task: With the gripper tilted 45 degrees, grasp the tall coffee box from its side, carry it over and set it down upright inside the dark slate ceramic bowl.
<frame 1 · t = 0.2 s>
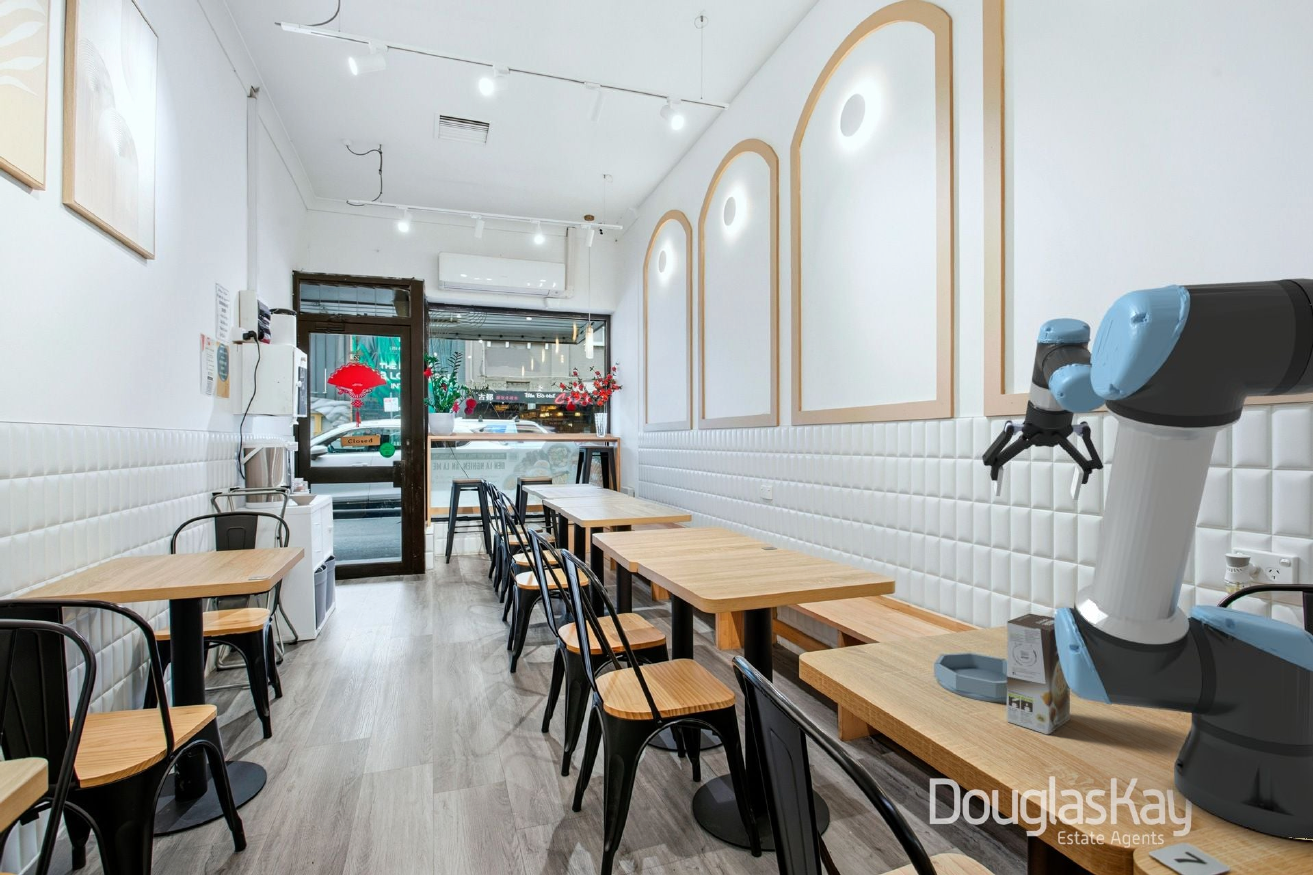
hand: (1034, 494, 126), 35 cm above the table, tool tilted 35°, fingers open, 13 cm apart
slate bowl: (981, 685, 115), on the table
coffee box: (1038, 722, 100), on the table
mineral rock: (1077, 675, 121), on the table
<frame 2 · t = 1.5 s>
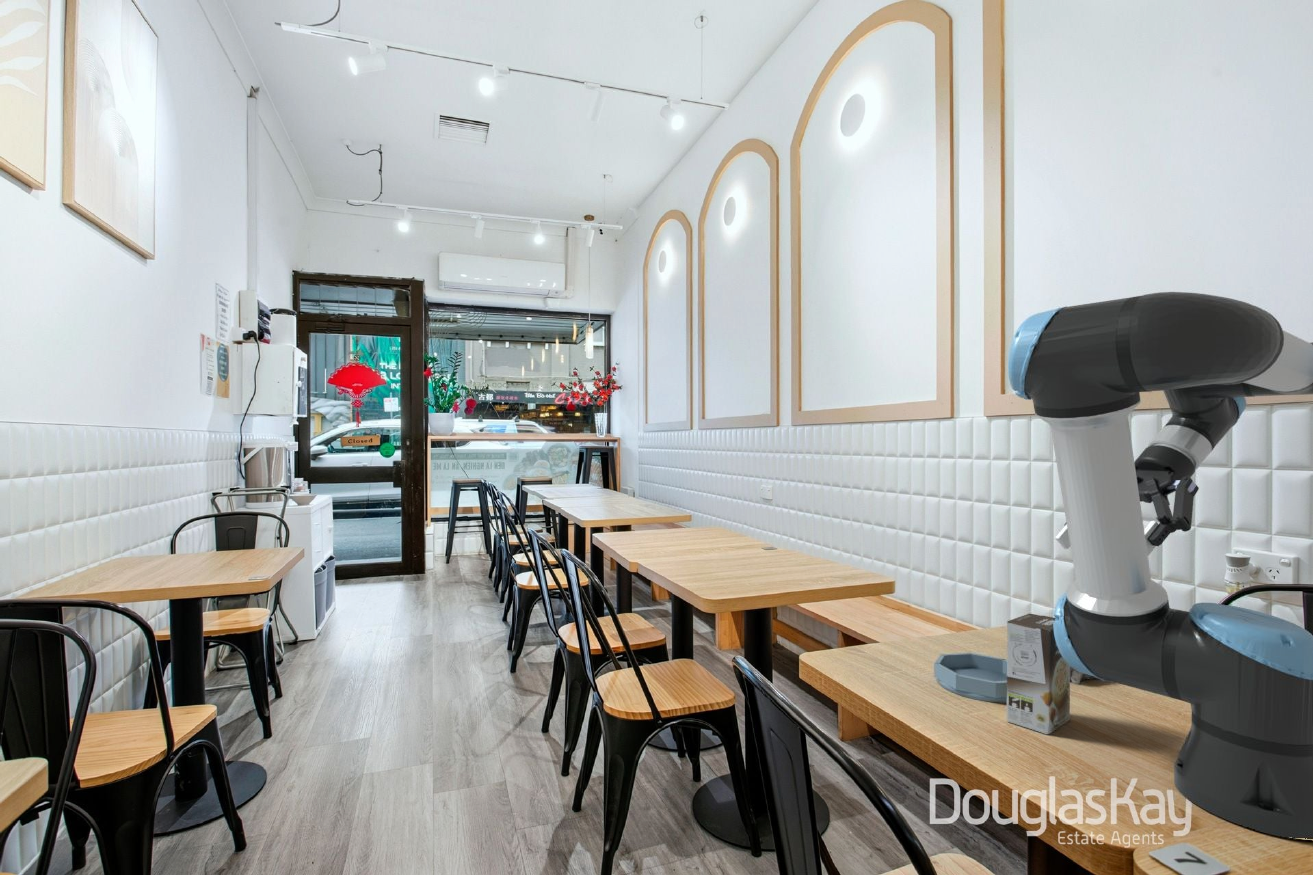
hand: (1095, 550, 103), 27 cm above the table, tool tilted 45°, fingers open, 13 cm apart
nothing on the table moved.
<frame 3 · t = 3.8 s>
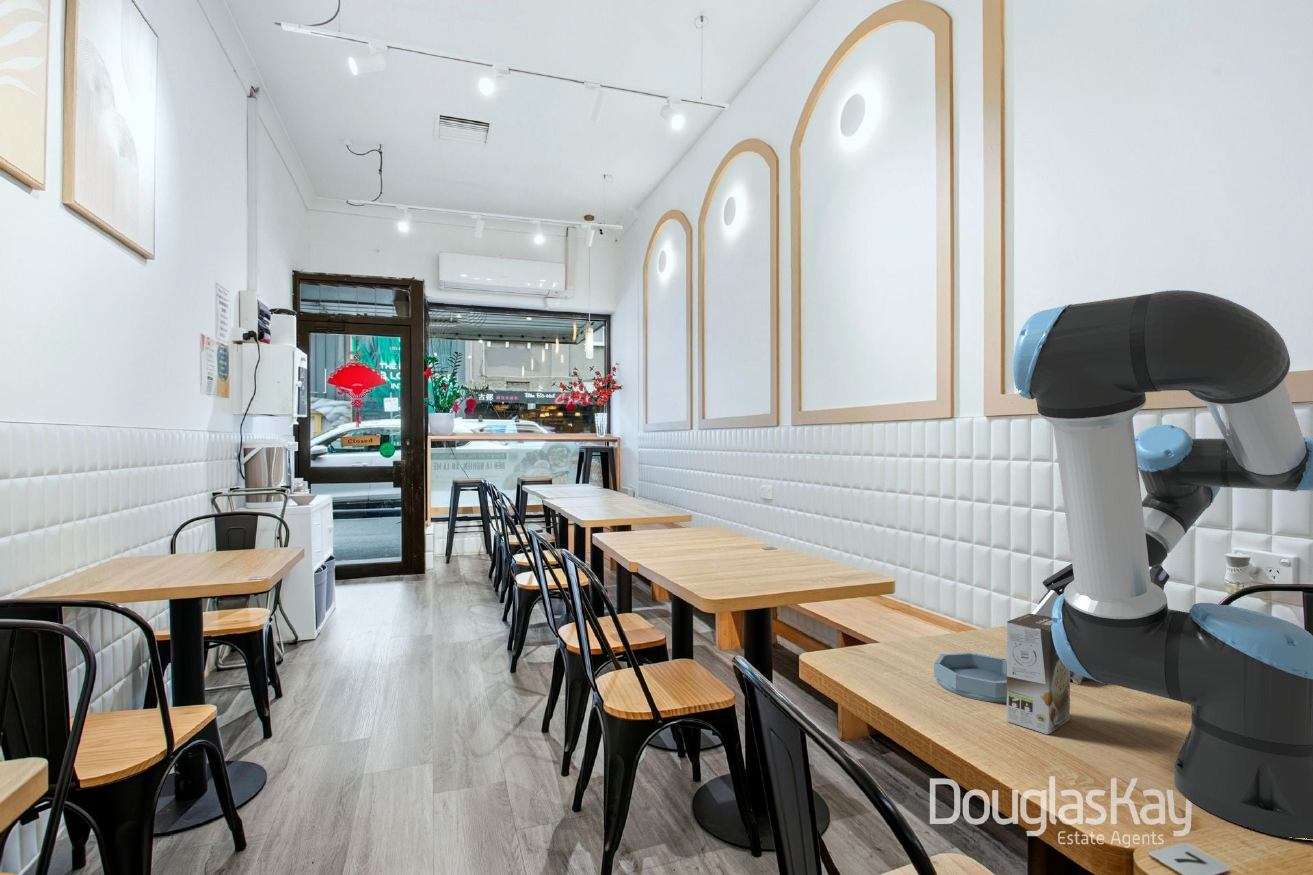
hand: (1066, 634, 102), 13 cm above the table, tool tilted 45°, fingers open, 13 cm apart
nothing on the table moved.
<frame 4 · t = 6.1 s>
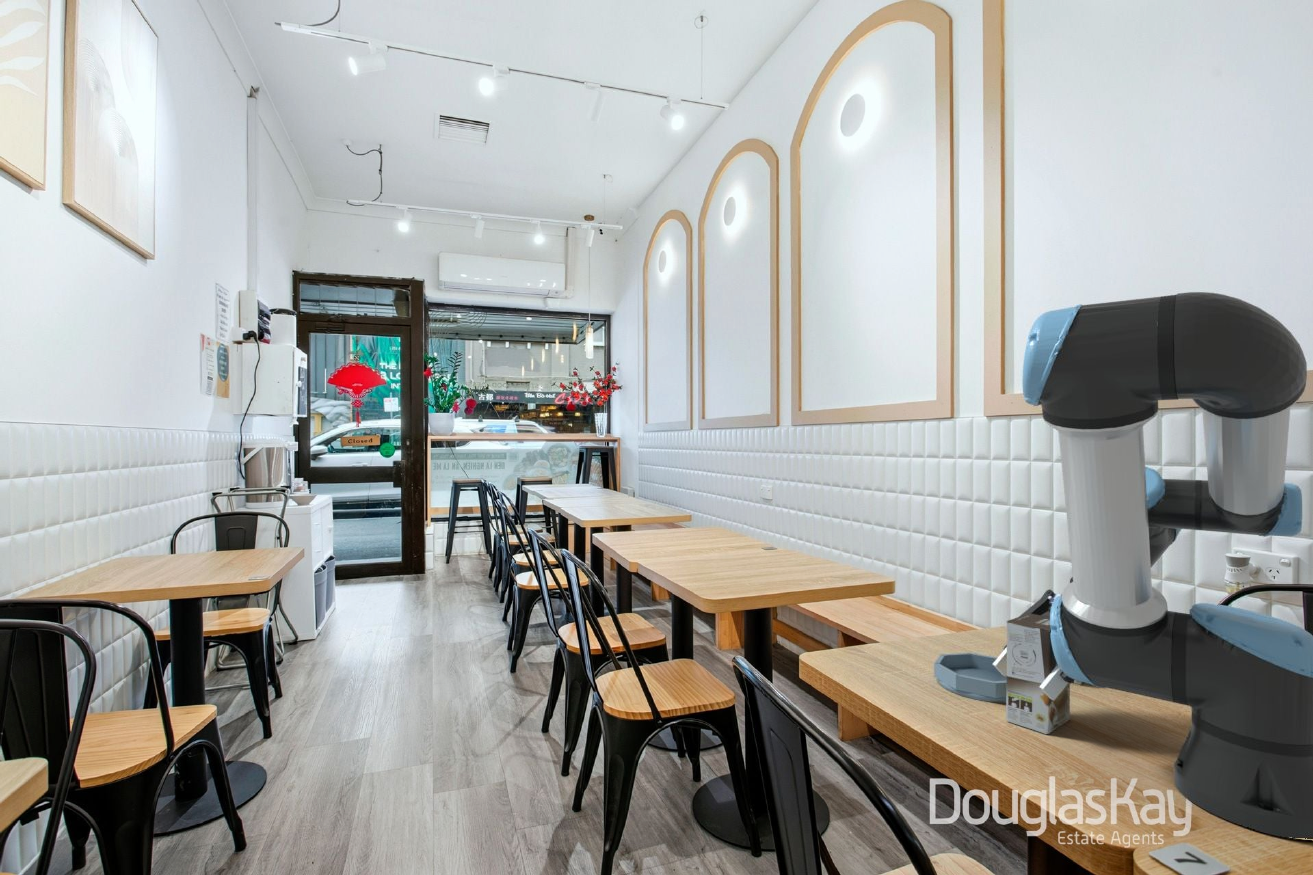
hand: (1021, 681, 100), 6 cm above the table, tool tilted 45°, fingers closed on coffee box, 9 cm apart
coffee box: (1038, 721, 100), on the table, touching gripper
everything else where it was.
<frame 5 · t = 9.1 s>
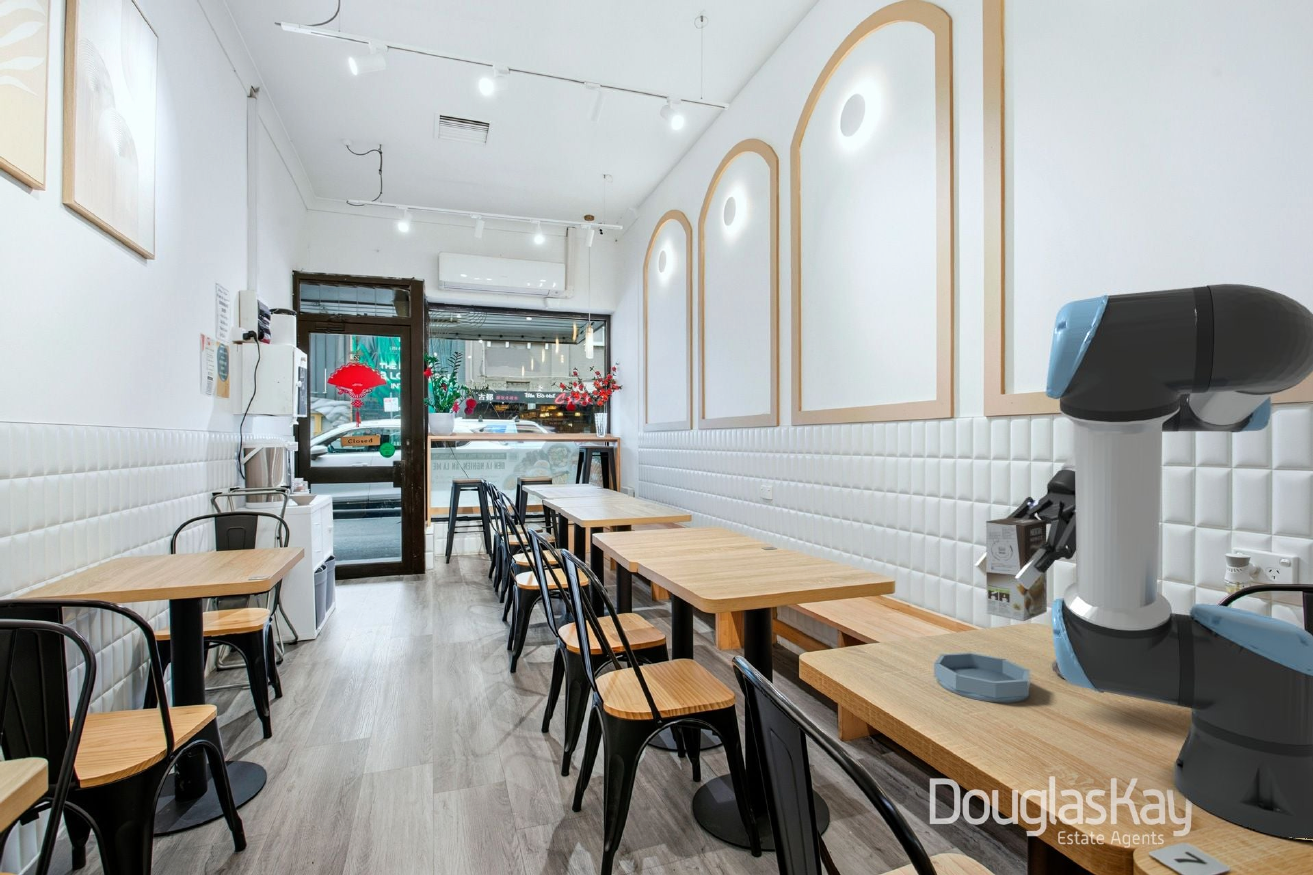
hand: (1000, 576, 107), 22 cm above the table, tool tilted 45°, fingers closed on coffee box, 9 cm apart
coffee box: (1016, 614, 108), point 15 cm above the table, touching gripper
everything else where it was.
when the fingers open (9 cm above the table, at t = 12.5 s): coffee box drops 1 cm, resting on slate bowl.
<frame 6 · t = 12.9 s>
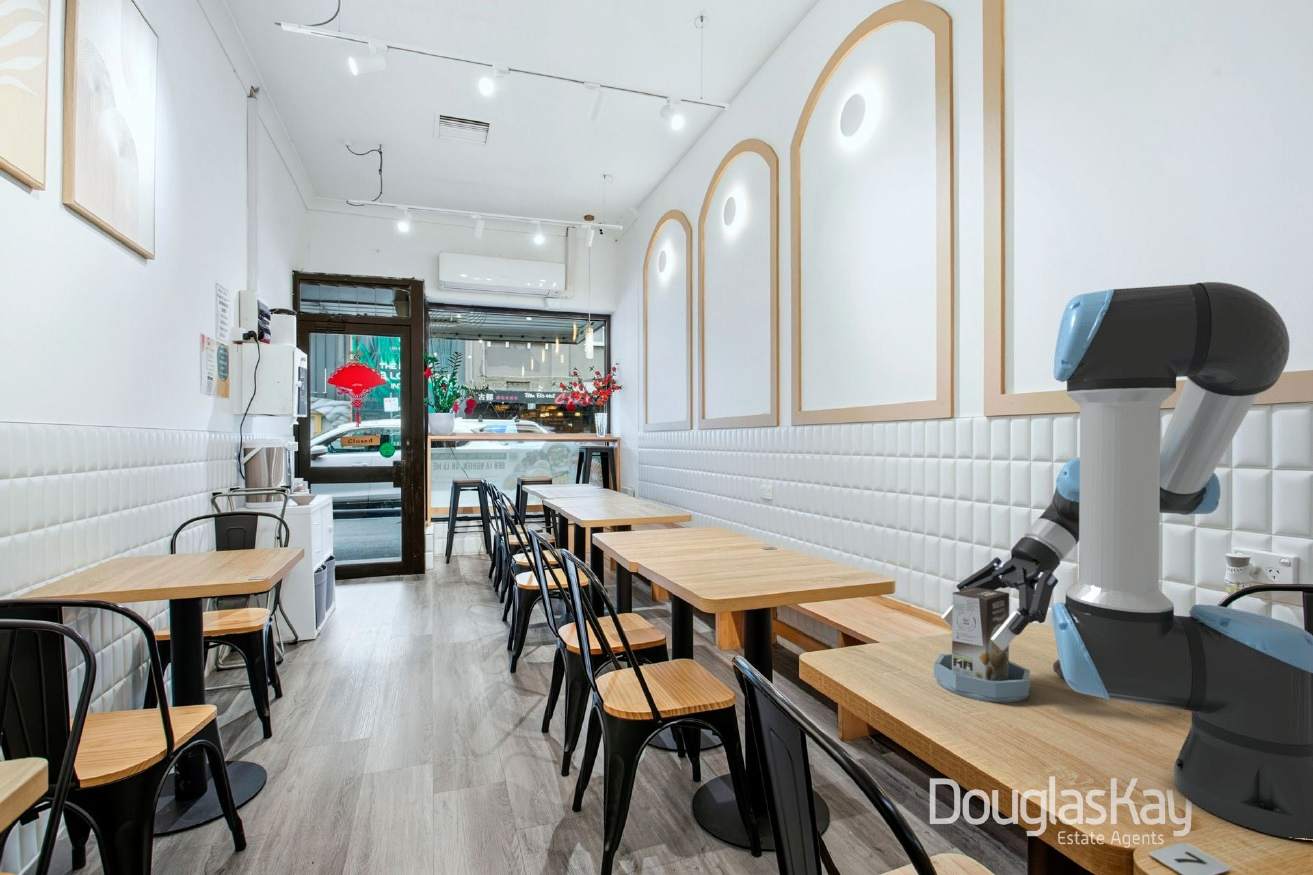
hand: (970, 633, 114), 10 cm above the table, tool tilted 45°, fingers open, 13 cm apart
coffee box: (980, 680, 115), point 1 cm above the table, touching slate bowl
everything else where it was.
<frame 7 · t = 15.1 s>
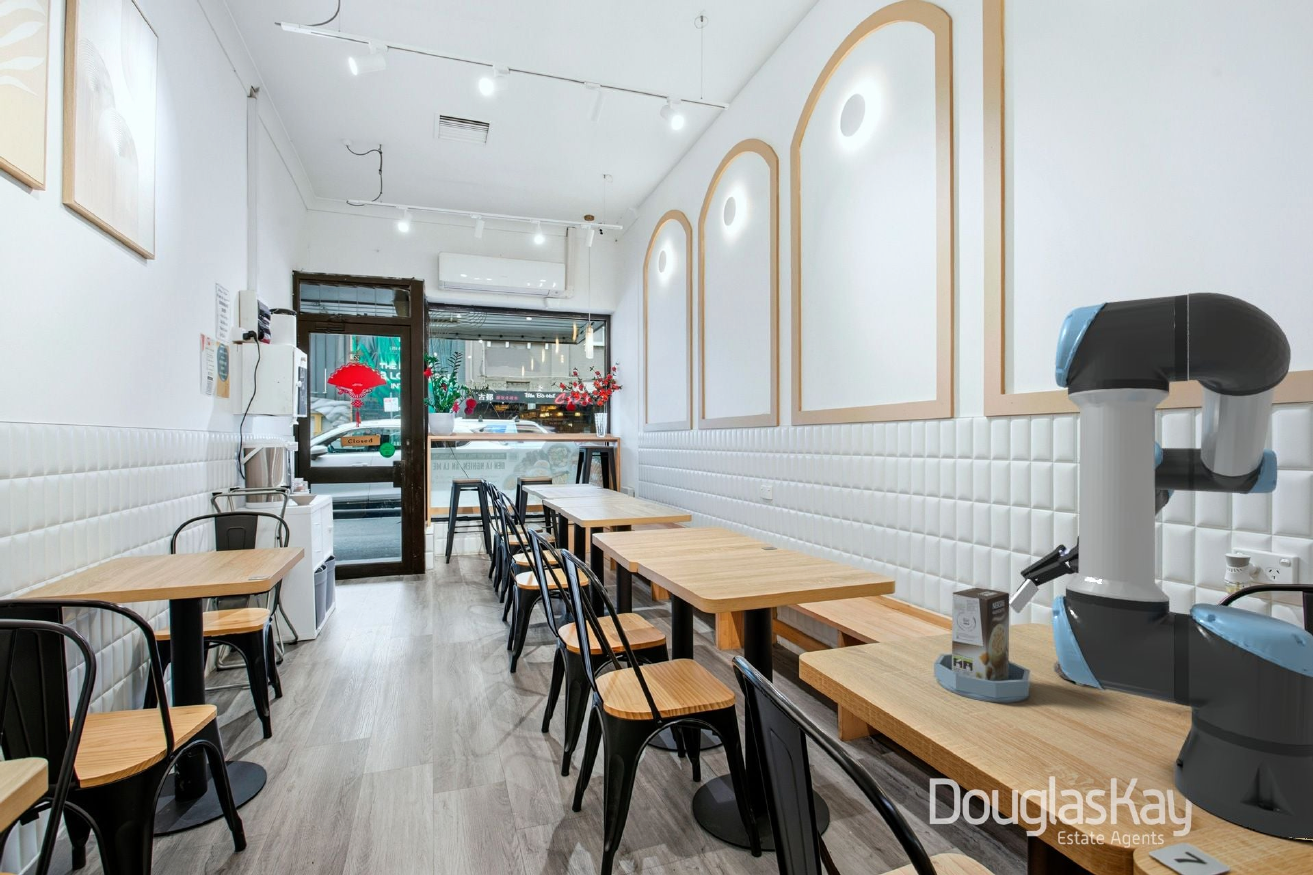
hand: (1040, 617, 116), 12 cm above the table, tool tilted 45°, fingers open, 13 cm apart
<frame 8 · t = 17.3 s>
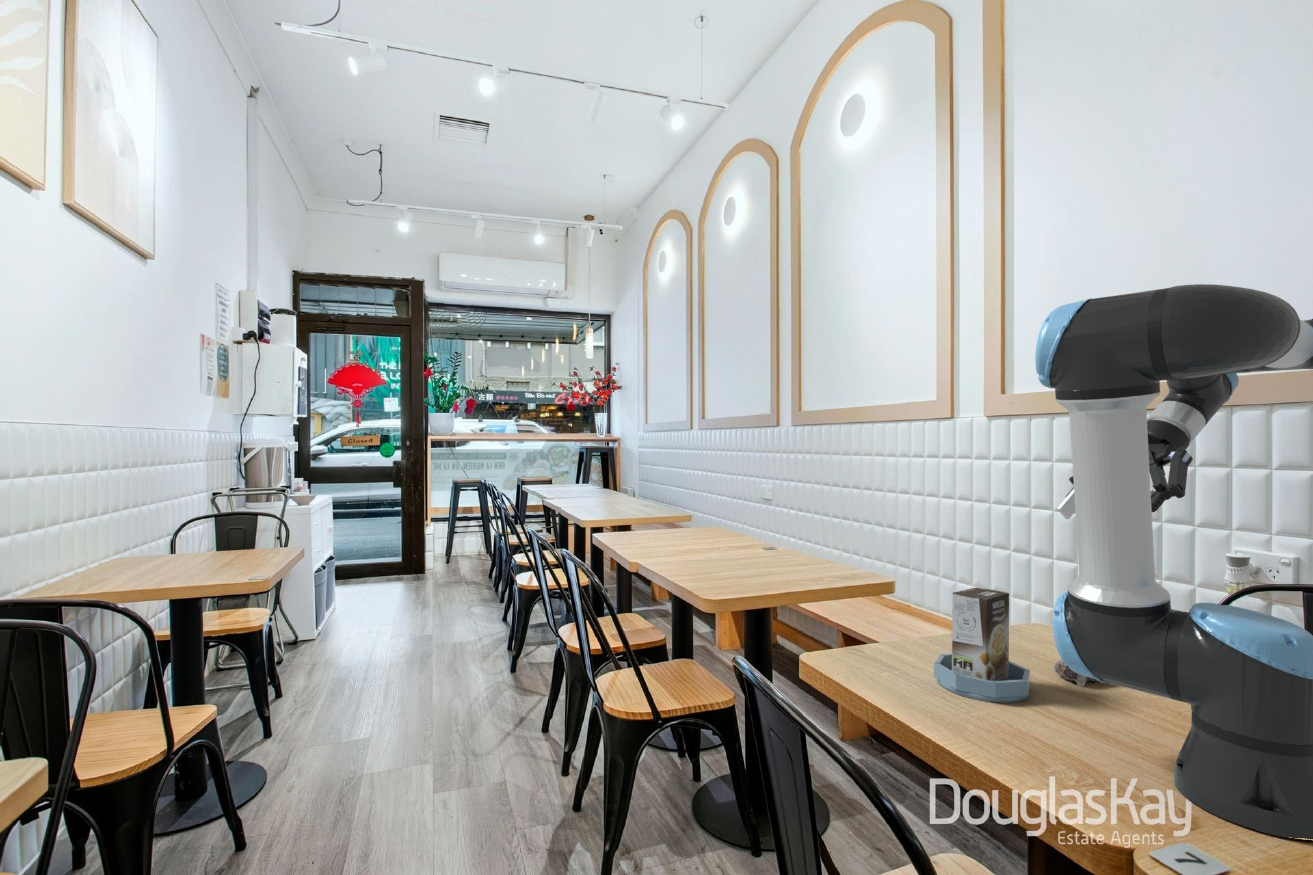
hand: (1094, 518, 108), 32 cm above the table, tool tilted 45°, fingers open, 13 cm apart
at the end: coffee box inside the target area on the slate bowl (0.3 cm from its centre), point 0.8 cm above the slate bowl's base; coffee box tilted 0° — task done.
